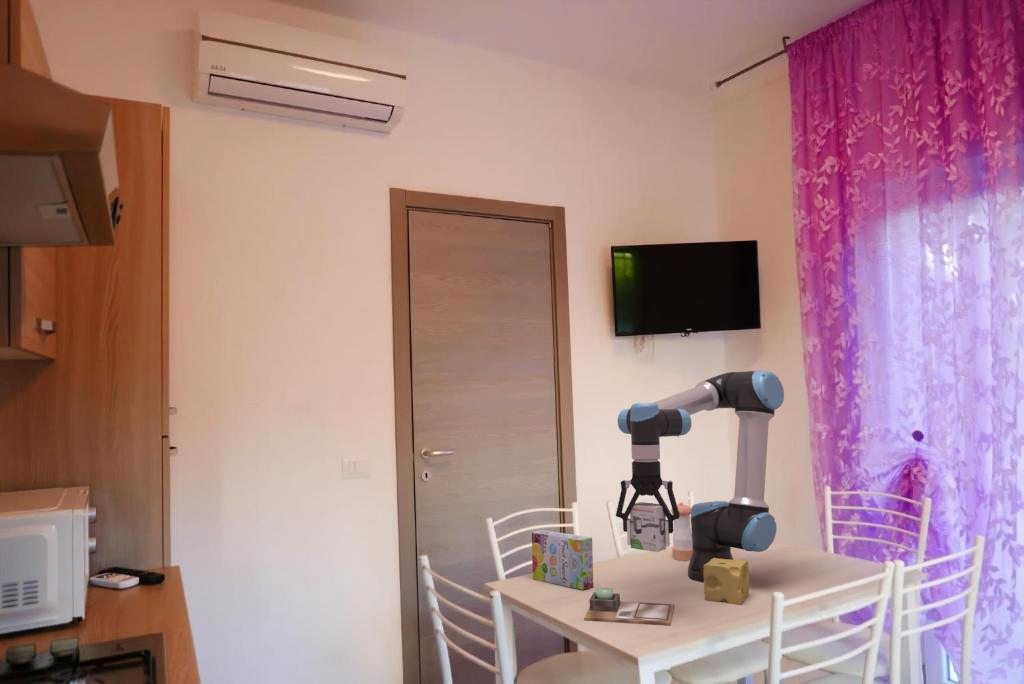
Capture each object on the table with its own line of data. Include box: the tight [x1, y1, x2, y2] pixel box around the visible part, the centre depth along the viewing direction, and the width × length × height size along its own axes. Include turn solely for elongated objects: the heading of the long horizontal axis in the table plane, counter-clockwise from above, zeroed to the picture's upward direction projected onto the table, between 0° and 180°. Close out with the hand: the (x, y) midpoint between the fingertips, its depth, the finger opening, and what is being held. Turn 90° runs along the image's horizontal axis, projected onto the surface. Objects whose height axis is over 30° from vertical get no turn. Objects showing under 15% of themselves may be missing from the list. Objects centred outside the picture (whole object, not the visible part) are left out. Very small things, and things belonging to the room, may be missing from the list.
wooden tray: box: [583, 592, 675, 626], centre depth 192 cm, size 22×16×3 cm
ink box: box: [629, 501, 667, 553], centre depth 193 cm, size 9×5×12 cm, turn 49°
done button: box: [596, 587, 614, 600], centre depth 196 cm, size 4×4×3 cm
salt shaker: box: [670, 502, 693, 561], centre depth 251 cm, size 7×7×19 cm
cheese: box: [703, 558, 750, 606], centre depth 204 cm, size 10×11×10 cm
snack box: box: [531, 529, 594, 591], centre depth 224 cm, size 21×6×15 cm, turn 45°
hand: (648, 544), depth 193 cm, fingers closed on ink box, 9 cm apart
